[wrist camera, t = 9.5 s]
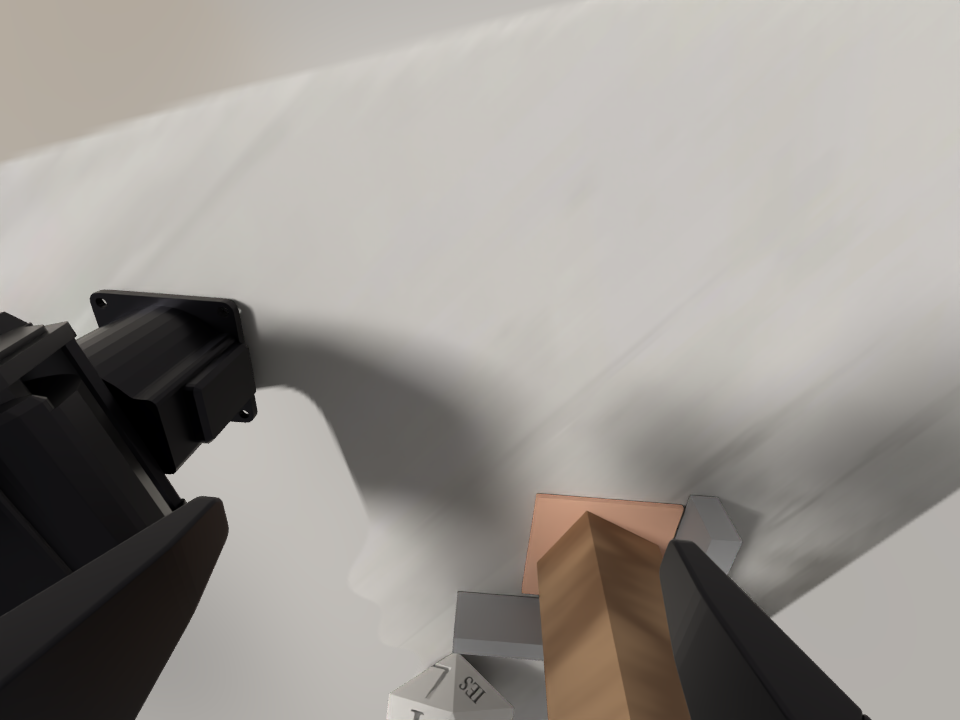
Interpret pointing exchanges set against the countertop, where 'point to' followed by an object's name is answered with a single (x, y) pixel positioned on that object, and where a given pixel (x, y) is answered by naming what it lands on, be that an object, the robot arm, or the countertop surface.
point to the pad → (633, 516)
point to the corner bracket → (517, 620)
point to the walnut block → (606, 627)
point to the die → (448, 695)
